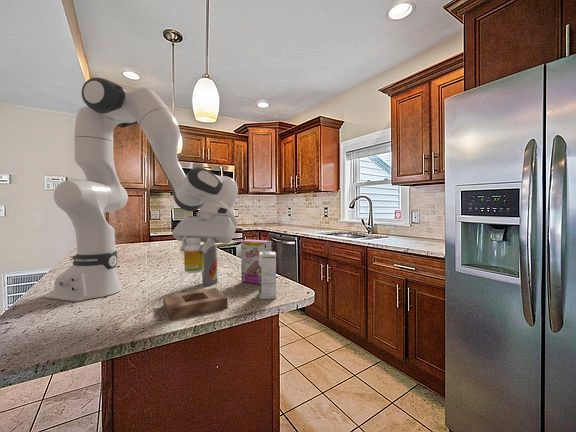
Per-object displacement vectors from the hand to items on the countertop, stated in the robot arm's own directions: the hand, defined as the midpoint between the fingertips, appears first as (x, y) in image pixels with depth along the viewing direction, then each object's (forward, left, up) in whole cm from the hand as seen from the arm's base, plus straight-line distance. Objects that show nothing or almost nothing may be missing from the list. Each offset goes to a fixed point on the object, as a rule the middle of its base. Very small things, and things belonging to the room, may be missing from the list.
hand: (192, 251), depth 83 cm
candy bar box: (+13, +28, -17) cm, 35 cm away
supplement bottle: (0, +1, -6) cm, 6 cm away
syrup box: (+20, +12, -17) cm, 29 cm away
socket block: (0, +1, -17) cm, 17 cm away
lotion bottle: (-5, +26, -17) cm, 31 cm away
